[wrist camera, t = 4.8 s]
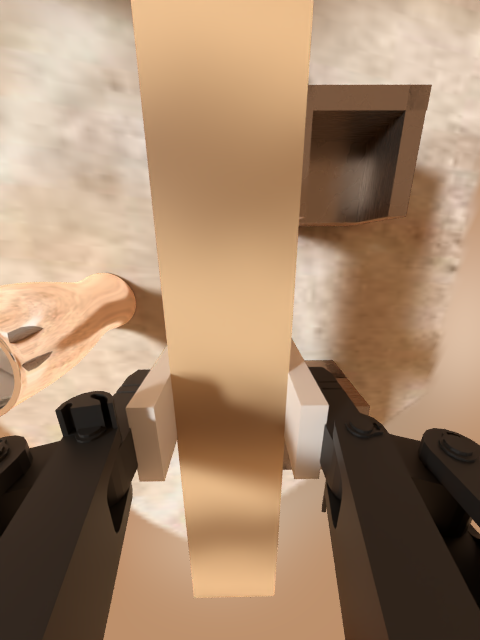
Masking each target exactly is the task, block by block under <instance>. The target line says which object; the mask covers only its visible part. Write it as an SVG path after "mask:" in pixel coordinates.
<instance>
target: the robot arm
mask: <svg viewBox="0 0 480 640" xmlns="http://www.w3.org/2000/svg"><path fill="white" fill-rule="evenodd" d="M55 411H56V415H57V418H58V421H59V424H60V428H61V431H62V434H63V438H62V439H61V441H58V442H54V443H50V444H46V445H42V446H38V447H33V448H29V446H28V444H27V441H26V440H25V438H24V437H21V436H16V435H15V436H7V437H2V438H0V640H103V638H104V633H105V628H106V623H107V618H108V613H109V609H110V604H111V599H112V594H113V589H114V584H115V579H116V575H117V569H118V565H119V560H120V555H121V550H122V545H123V540H124V535H125V531H126V526H127V521H128V516H129V511H130V506H131V501H132V485H131V481H132V479H133V477H134V474H135V472H136V470H138V475H139V480H140V481H165V478H166V474H167V471H168V468H169V464H170V461H171V458H172V454H173V451H174V448H175V444H176V441H177V430H176V421H175V411H174V402H173V393H172V383H171V374H170V366H169V357H168V348H167V346H166V347H165V349H164V350H163V352H162V353H161V355H160V357H159V358H158V360H157V361H156V363H155V364H154V366H153V367H152V369H151V370H138V371H136V372H135V373H133V374H132V375H130V376H129V377H128V378H127V379H126V380H125V382H124V383H123V384H122V386H121V387H120V388H119V389H118V390H117V393H115V394H114V395H113V396H112V395H111V394H110V393H107V392H104V391H93V392H88V393H84V394H81V395H78V396H76V397H73V398H71V399H69V400H68V401H66V402H64V403H63V404H61V405H60V406H59V407H58V408H57V409H56V410H55ZM284 438H285V442H286V446H287V450H288V454H289V459H290V463H291V467H292V471H293V475H294V479H319V474H320V466H321V467H322V470H323V472H324V475H325V478H326V483H325V490H324V496H323V503H322V512H326V507H327V514H328V521H329V528H330V535H331V542H332V549H333V556H334V563H335V570H336V578H337V585H338V591H339V599H340V606H341V613H342V619H343V627H344V634H345V640H480V534H479V533H478V532H477V531H476V530H475V529H474V528H473V526H472V525H471V524H470V523H471V521H472V519H473V520H474V521H475V523H477V525H478V526H479V527H480V445H478V444H477V443H475V442H474V441H472V440H471V439H469V438H467V437H465V436H463V435H461V434H459V433H455V432H452V431H449V430H446V429H437V428H433V429H429V430H426V432H425V433H424V434H423V437H422V440H421V441H418V440H413V439H409V438H404V437H400V436H395V435H392V434H389V433H388V432H387V430H386V429H385V428H384V426H383V425H382V424H381V423H379V422H378V421H377V420H375V419H374V418H372V417H370V416H368V415H365V414H363V413H360V412H359V411H358V409H357V408H356V406H355V405H354V404H353V402H352V401H351V399H350V398H349V397H348V395H347V394H346V392H345V391H344V390H342V387H341V385H340V384H339V383H338V381H337V380H336V378H335V377H334V376H333V374H332V373H331V372H329V371H328V370H326V369H325V368H323V367H307V365H306V363H305V361H304V359H303V358H302V356H301V354H300V352H299V350H298V349H297V347H296V345H295V343H294V341H293V340H292V338H291V349H290V364H289V372H288V384H287V399H286V415H285V431H284Z"/></svg>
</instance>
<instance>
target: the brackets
mask: <svg viewBox="0 0 480 640" xmlns="http://www.w3.org/2000/svg"><path fill="white" fill-rule="evenodd" d="M431 86H432V85H308V91H307V106H306V121H305V136H304V151H303V167H302V182H301V197H300V212H299V226H353V225H359V224H365V223H371V222H376V221H382V220H388V219H394V218H400V217H406V213H407V208H408V203H409V197H410V192H411V187H412V182H413V176H414V171H415V166H416V160H417V155H418V150H419V145H420V139H421V134H422V129H423V124H424V118H425V113H426V110H427V107H428V102H429V96H430V91H431ZM305 363H306V365H307V367H323V368H325V369H326V370H328V371H329V372H331V373H332V374H333V376H334V377H335V378H336V380H337V381H338V383H339V384H340V385H341V387H342V390H344V391H345V392H346V394H347V395H348V397H349V398H350V399H351V401H352V402H353V404H354V405H355V406H356V408H357V409H358V411H359V412H360V413H363V414H365V415H368V413H369V408H370V406H369V405H368V404H367V402H366V401H365V400H364V399H363V397H362V396H361V395H360V394H359V393H358V391H357V390H356V389H355V388H354V386H353V385H352V384H351V383H350V381H349V380H348V379H347V377H346V376H345V375H344V374H343V372H342V371H341V370H340V369H339V367H338V366H337V365H336V364H335V363H334V361H333V360H312V361H305ZM320 469H322V467H321V466H320ZM283 470H292V467H291V463H290V459H289V454H288V450H287V446H286V442H285V440H284V456H283Z"/></svg>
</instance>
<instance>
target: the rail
mask: <svg viewBox="0 0 480 640" xmlns="http://www.w3.org/2000/svg"><path fill="white" fill-rule="evenodd" d="M131 8H132V17H133V27H134V36H135V46H136V55H137V65H138V74H139V83H140V93H141V102H142V112H143V121H144V131H145V140H146V149H147V159H148V168H149V178H150V187H151V197H152V206H153V216H154V225H155V234H156V244H157V253H158V263H159V272H160V282H161V291H162V300H163V310H164V319H165V329H166V338H167V348H168V357H169V366H170V374H171V383H172V393H173V402H174V411H175V421H176V430H177V442H178V451H179V461H180V470H181V480H182V489H183V499H184V508H185V517H186V527H187V536H188V546H189V555H190V565H191V574H192V584H193V592H194V598H206V597H247V596H274V591H275V577H276V562H277V547H278V532H279V516H280V501H281V486H282V471H283V456H284V440H285V438H284V431H285V415H286V399H287V384H288V372H289V364H290V349H291V334H292V319H293V304H294V288H295V273H296V258H297V243H298V228H299V212H300V197H301V182H302V167H303V151H304V136H305V121H306V106H307V91H308V75H309V60H310V45H311V30H312V15H313V0H131Z"/></svg>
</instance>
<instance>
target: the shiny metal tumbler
mask: <svg viewBox="0 0 480 640" xmlns="http://www.w3.org/2000/svg"><path fill="white" fill-rule="evenodd" d="M135 308H136V300H135V296H134V293H133V291H132V289H131V288H130V286H129V285H128V284H127V283H126V282H125V281H124V280H122V279H121V278H119V277H118V276H115V275H113V274H109V273H96V274H93V275H90V276H88V277H86V278H85V279H83V280H81V281H79V282H71V283H67V282H26V283H15V284H8V285H1V286H0V416H2V415H4V414H6V413H7V412H8V411H9V410H11V409H12V408H14V407H15V406H17V405H18V404H20V403H22V402H23V401H25V400H27V399H28V398H30V397H32V396H33V395H35V394H36V393H38V392H40V391H41V390H43V389H44V388H46V387H47V386H49V385H50V384H52V383H53V382H55V381H56V380H58V379H59V378H60V377H62V376H63V375H64V374H66V373H67V372H68V371H69V370H71V369H72V368H73V367H74V366H76V365H77V364H78V363H79V362H80V361H81V360H82V359H83V358H84V357H85V356H86V355H87V354H88V353H89V352H90V351H91V349H92V348H93V347H94V346H95V345H96V343H97V342H98V341H99V340H100V339H101V337H102V336H103V335H104V334H105V333H106V332H107V331H108V330H111V329H114V328H117V327H120V326H122V325H124V324H126V323H127V322H128V321H129V320H130V319H131V318H132V316H133V315H134V312H135Z"/></svg>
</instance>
